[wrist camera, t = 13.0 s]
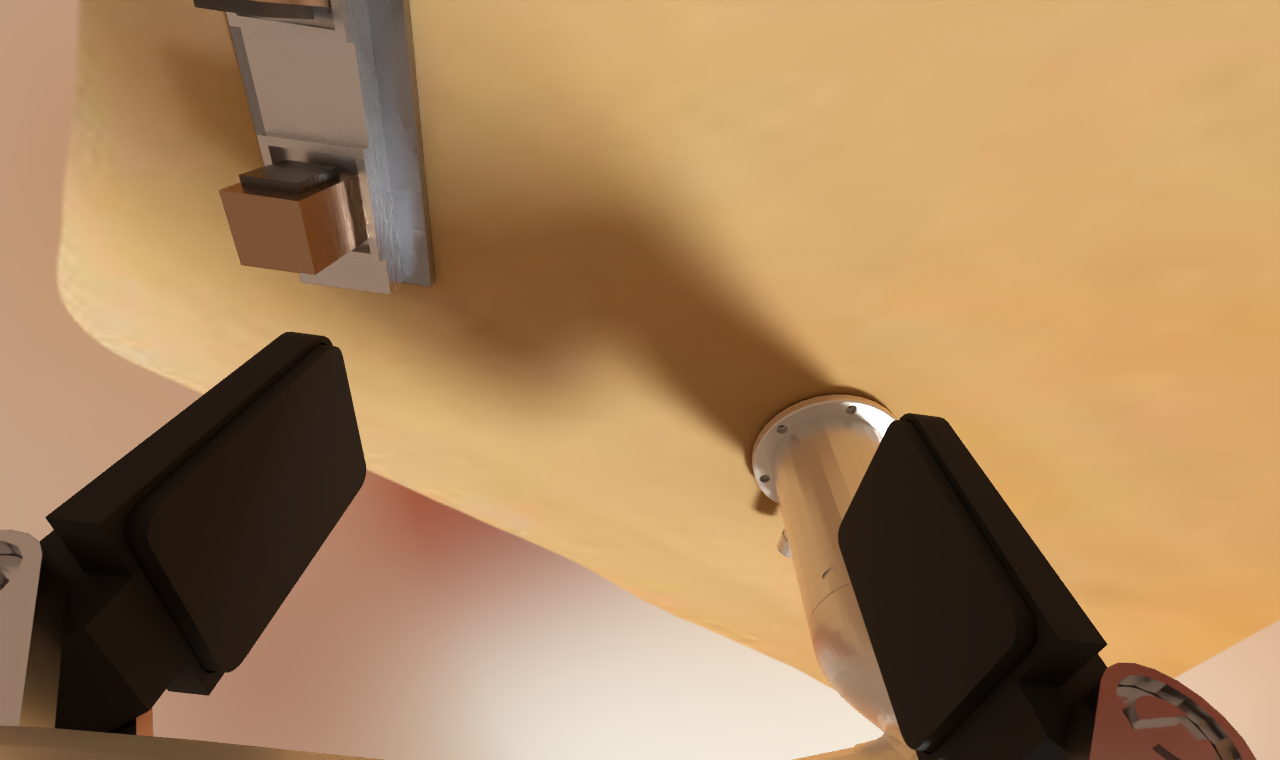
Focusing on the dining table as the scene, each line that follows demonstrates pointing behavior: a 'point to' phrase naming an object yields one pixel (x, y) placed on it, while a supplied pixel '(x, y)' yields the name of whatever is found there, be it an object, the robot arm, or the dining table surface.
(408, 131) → the rail
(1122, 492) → the dining table surface
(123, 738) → the robot arm
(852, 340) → the dining table surface
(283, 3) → the brown rectangular block
